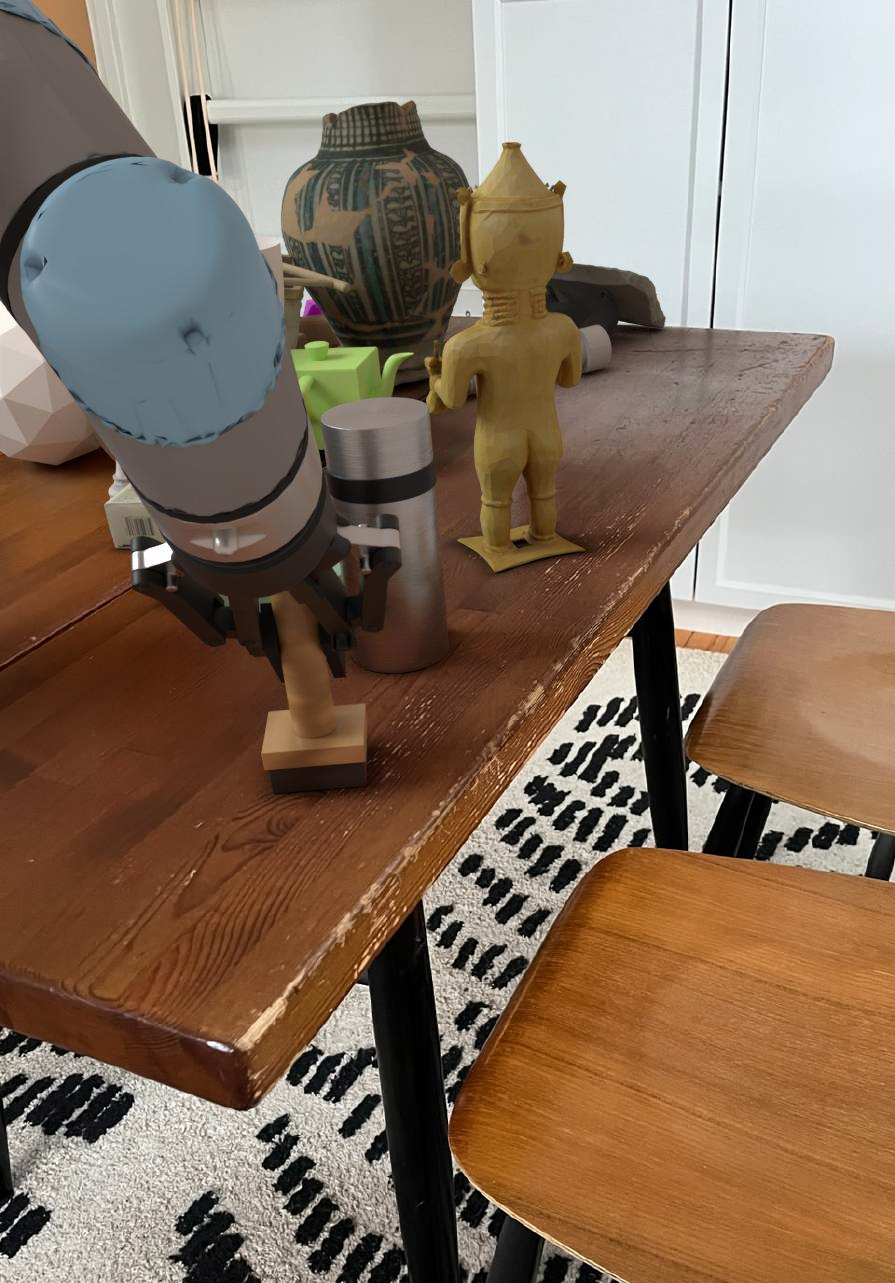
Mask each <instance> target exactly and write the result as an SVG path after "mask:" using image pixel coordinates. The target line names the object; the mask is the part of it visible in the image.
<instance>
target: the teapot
mask: <svg viewBox="0 0 895 1283" xmlns="http://www.w3.org/2000/svg"><path fill="white" fill-rule="evenodd" d="M291 354H292V358H293V362H294V366H295V369H296V373H297V377H298V381H299V385H300V389H301V393H302V397H303V400H304V404H305V407H306V411H307V414H308V417H309V419H310V423H311V426H312V430H313V433H314V437H315V440H316V444H317V447H318V450H319V451H325V450H324V442H323V435H322V427H321V416H322V414H323V413H324V412H326V411H327V410H329V409H331V408H333V407H336V406H338V405H341V404H345V403H348V402H352V401H357V400H363V399H370V398H383V397H393V392H394V387H395V386H394V381H395V376H396V372H397V369H398V367H399V365H400V364H401V363H402V362H403V361H404V360H405V359H406V358H408V357H410V356H411V355H413V354H414V353H398V354H394V355H392V356H390V357H389V359H388V360H387V361H386V363H385V366H384V370H383V374H382V378H381V375H380V365H379V356H378V348H377V347H353V348H329V343H328V342H325V341H315V342H310V343H308V344H306V345H305V349H293V350H291Z"/></svg>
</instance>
